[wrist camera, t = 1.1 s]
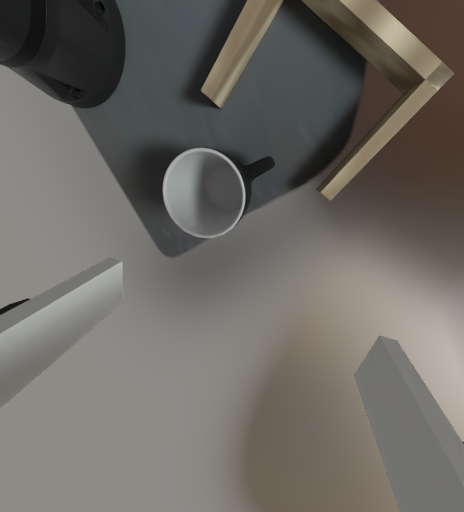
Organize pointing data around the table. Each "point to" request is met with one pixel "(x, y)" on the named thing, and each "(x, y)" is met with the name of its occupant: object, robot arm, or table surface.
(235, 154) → the table surface
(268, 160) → the mug
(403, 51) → the bay
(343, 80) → the table surface
